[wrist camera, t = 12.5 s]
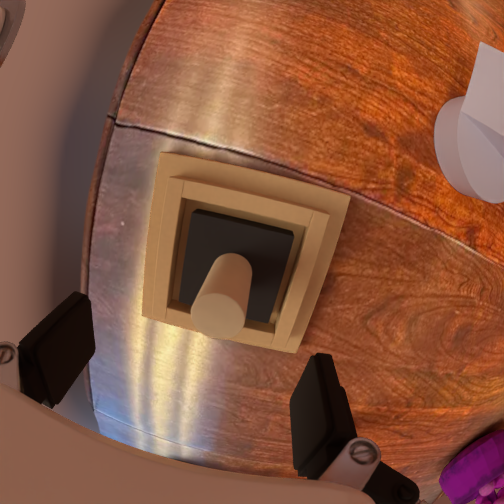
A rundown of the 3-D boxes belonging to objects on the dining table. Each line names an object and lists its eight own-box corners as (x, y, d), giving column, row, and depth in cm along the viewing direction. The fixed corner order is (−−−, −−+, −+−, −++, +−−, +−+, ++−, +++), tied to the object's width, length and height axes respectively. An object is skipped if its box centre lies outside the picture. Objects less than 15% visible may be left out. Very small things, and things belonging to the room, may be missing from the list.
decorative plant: (418, 476, 36) (443, 578, 7) (477, 423, 30) (526, 537, 1) (464, 465, 36) (492, 546, 8) (514, 416, 30) (558, 500, 2)
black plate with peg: (183, 293, 22) (150, 349, 15) (197, 208, 20) (158, 236, 13) (268, 313, 22) (267, 379, 15) (292, 230, 20) (305, 271, 13)
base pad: (145, 310, 24) (135, 325, 22) (164, 151, 19) (152, 151, 17) (295, 347, 24) (297, 365, 22) (347, 194, 20) (357, 199, 17)
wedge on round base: (460, 49, 14) (419, 158, 18) (503, 32, 8) (470, 162, 12) (515, 110, 15) (481, 214, 19) (559, 109, 9) (528, 234, 13)
